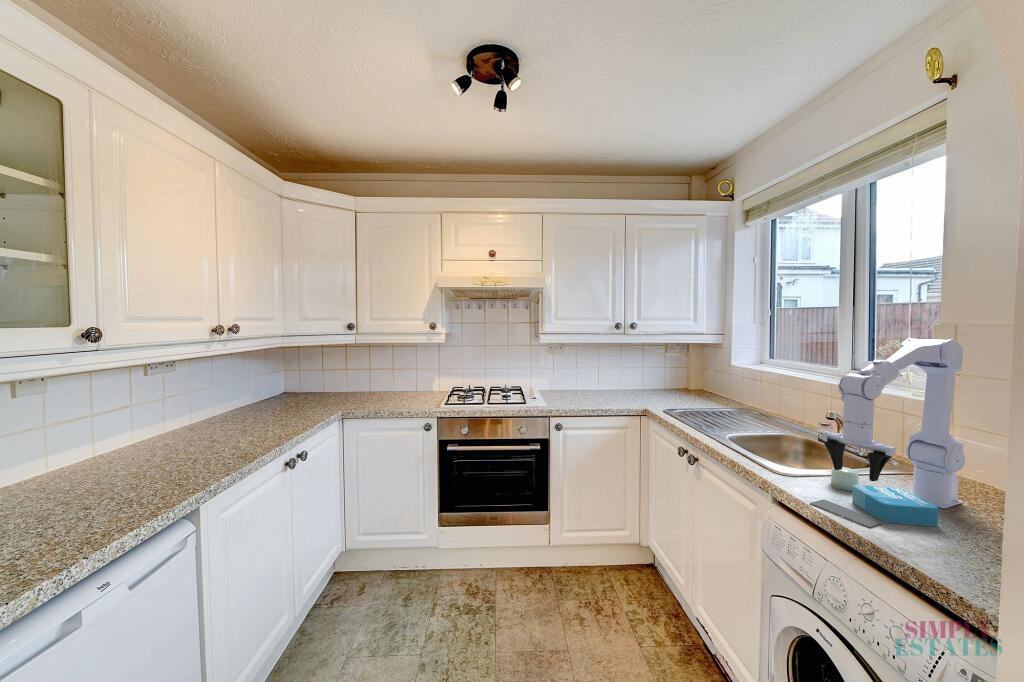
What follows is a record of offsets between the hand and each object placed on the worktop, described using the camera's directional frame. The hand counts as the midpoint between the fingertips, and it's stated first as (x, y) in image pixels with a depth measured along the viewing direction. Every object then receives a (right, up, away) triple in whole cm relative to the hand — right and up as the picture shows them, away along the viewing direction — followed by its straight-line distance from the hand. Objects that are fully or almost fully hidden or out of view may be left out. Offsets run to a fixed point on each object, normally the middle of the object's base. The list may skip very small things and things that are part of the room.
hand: (855, 474), depth 99 cm
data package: (+3, -7, 0) cm, 8 cm away
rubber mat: (-3, -9, -1) cm, 10 cm away
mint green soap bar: (+10, -9, +15) cm, 20 cm away
